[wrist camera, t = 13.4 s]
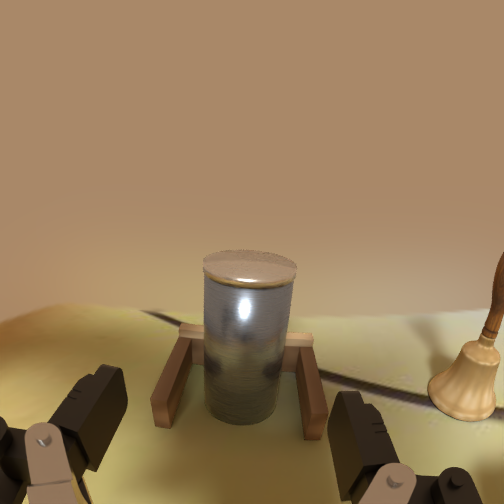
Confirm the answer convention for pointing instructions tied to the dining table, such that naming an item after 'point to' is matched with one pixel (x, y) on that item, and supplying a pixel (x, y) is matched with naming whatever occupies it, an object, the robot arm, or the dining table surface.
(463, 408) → the hand bell
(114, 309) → the dining table surface
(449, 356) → the dining table surface
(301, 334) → the wooden u-shaped bracket
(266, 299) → the tin
